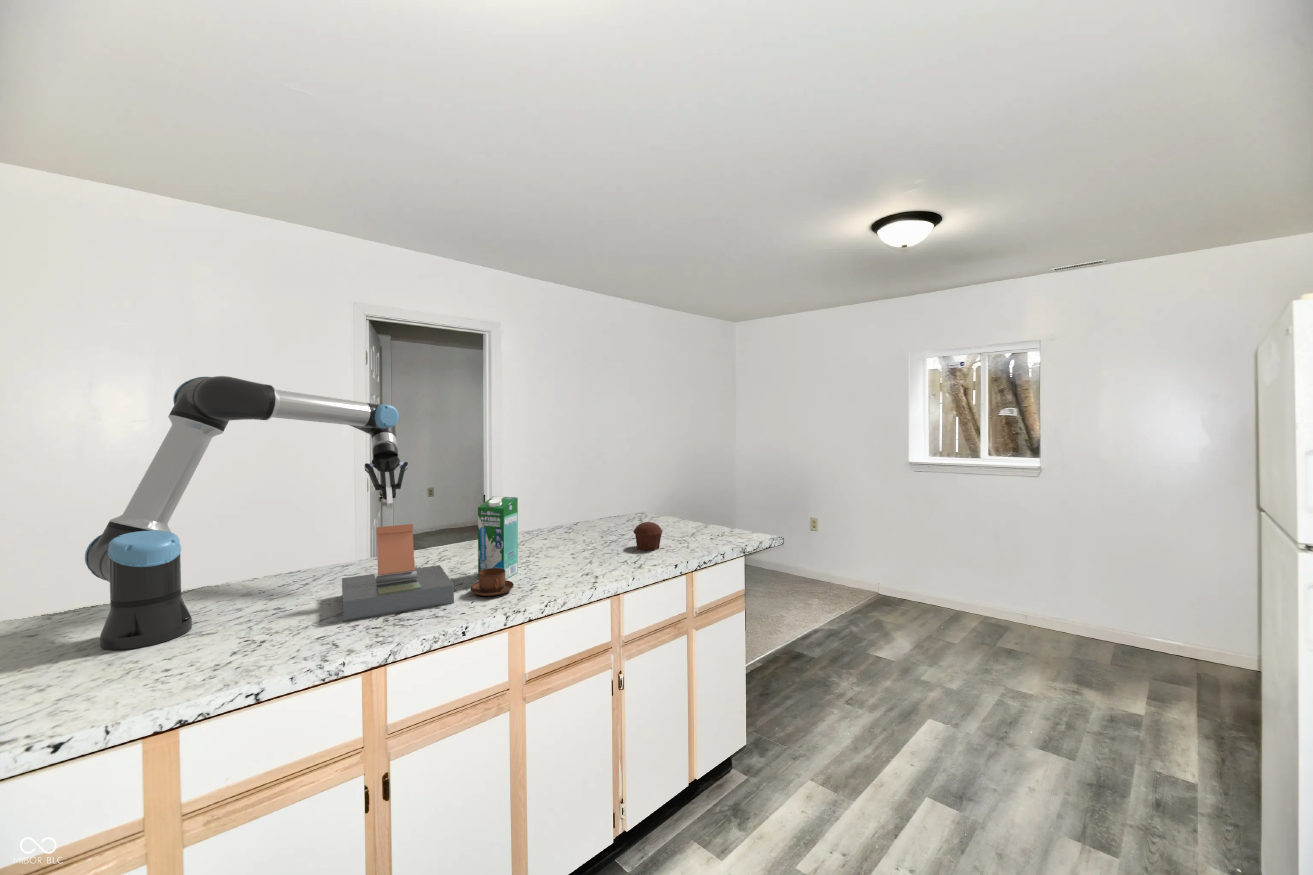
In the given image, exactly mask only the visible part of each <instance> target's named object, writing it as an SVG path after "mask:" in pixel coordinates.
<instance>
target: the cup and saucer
mask: <svg viewBox="0 0 1313 875" xmlns="http://www.w3.org/2000/svg"><path fill="white" fill-rule="evenodd" d="M513 588H514V583H513V582H512V581H510V580H508V579H506V580H505V570H504V569H501V568H489V569H484V570H482V571H480V572H479V578H478V582H476V583H473V585H472V584H471V586H470V591H471V592H472V593H473V594H474V595H477V596H481V597H495V596H501V595H504V594H506V593H508V592H510V591H511V590H512V589H513Z"/></svg>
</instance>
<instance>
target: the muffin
mask: <svg viewBox="0 0 1313 875" xmlns="http://www.w3.org/2000/svg"><path fill="white" fill-rule="evenodd" d="M632 532H633V534H634V535H635V536H634V537H635V543H636V549H637V550H639V549H640V551H645V552H647V551H649V552H650V551H656V550H660V543H661V539H662V538H661V537H662V534H663V529H662V528H661V526H660V525H659V524H657V523H656V522H653V521H644V522H640V523H639V524H637V525H636V527H635V528H634V530H633V531H632Z"/></svg>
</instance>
